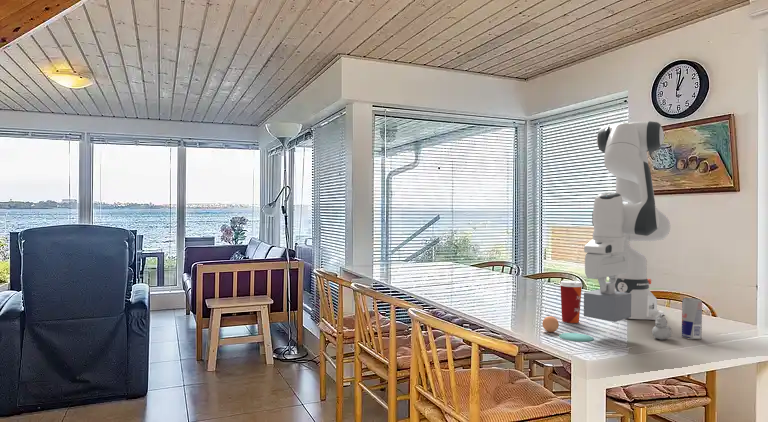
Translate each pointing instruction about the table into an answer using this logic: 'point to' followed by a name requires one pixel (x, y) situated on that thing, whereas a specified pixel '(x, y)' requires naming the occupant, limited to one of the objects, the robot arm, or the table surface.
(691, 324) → the energy drink
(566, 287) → the paper cup
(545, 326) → the ball
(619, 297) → the grey rectangular box
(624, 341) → the table surface
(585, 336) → the disc
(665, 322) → the rubber duck
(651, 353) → the table surface
